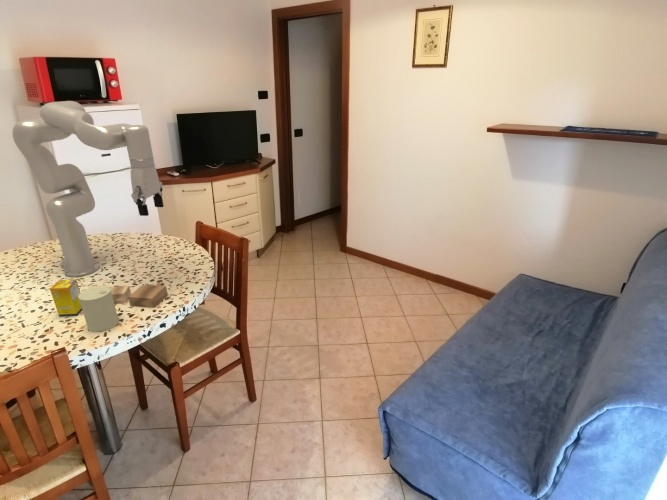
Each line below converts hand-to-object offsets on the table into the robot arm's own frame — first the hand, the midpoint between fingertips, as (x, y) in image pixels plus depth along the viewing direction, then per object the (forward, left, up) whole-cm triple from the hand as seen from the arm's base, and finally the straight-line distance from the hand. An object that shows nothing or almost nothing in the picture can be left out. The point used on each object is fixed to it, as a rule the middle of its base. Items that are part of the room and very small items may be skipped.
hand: (152, 211), depth 146 cm
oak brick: (-10, -14, -29) cm, 34 cm away
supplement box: (-21, -24, -29) cm, 43 cm away
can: (-5, -29, -29) cm, 41 cm away
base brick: (+1, -13, -29) cm, 32 cm away
